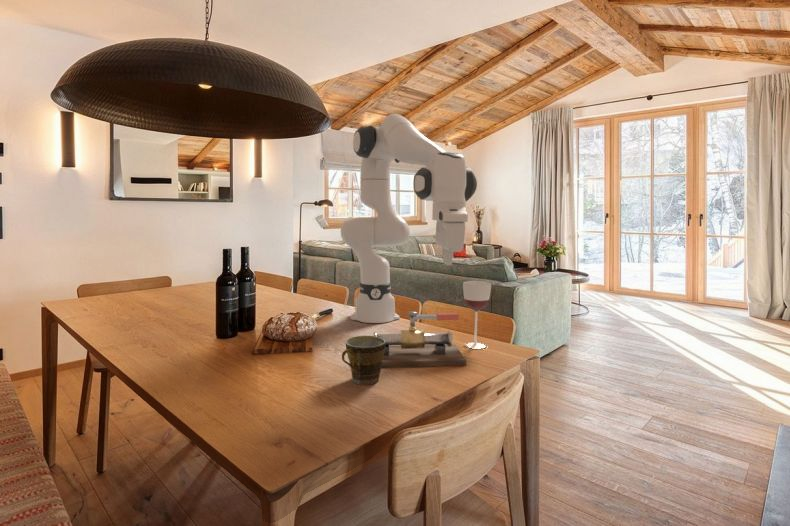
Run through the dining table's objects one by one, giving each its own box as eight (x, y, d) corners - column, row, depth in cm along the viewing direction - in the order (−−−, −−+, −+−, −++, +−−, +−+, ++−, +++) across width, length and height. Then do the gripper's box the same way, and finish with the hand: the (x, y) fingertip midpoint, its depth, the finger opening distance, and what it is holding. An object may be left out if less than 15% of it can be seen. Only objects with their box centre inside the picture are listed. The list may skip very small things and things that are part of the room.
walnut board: (363, 351, 136) (363, 346, 136) (455, 349, 139) (455, 344, 138) (363, 367, 123) (363, 362, 122) (465, 365, 125) (466, 360, 125)
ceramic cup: (364, 370, 121) (364, 333, 120) (393, 379, 115) (393, 340, 113) (328, 384, 111) (327, 344, 110) (357, 395, 105) (357, 353, 103)
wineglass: (456, 343, 144) (458, 281, 142) (480, 341, 147) (482, 280, 145) (469, 351, 137) (471, 285, 135) (494, 348, 140) (496, 284, 138)
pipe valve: (373, 350, 132) (373, 325, 131) (448, 349, 134) (448, 324, 133) (374, 356, 127) (374, 330, 126) (452, 355, 129) (452, 329, 128)
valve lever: (408, 327, 128) (408, 313, 128) (407, 324, 131) (407, 311, 130) (458, 326, 130) (458, 312, 129) (456, 323, 132) (456, 310, 132)
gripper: (430, 212, 132) (430, 259, 134) (444, 215, 112) (443, 270, 114) (452, 212, 133) (451, 259, 135) (469, 215, 113) (467, 270, 115)
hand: (447, 264), depth 124 cm, fingers closed
